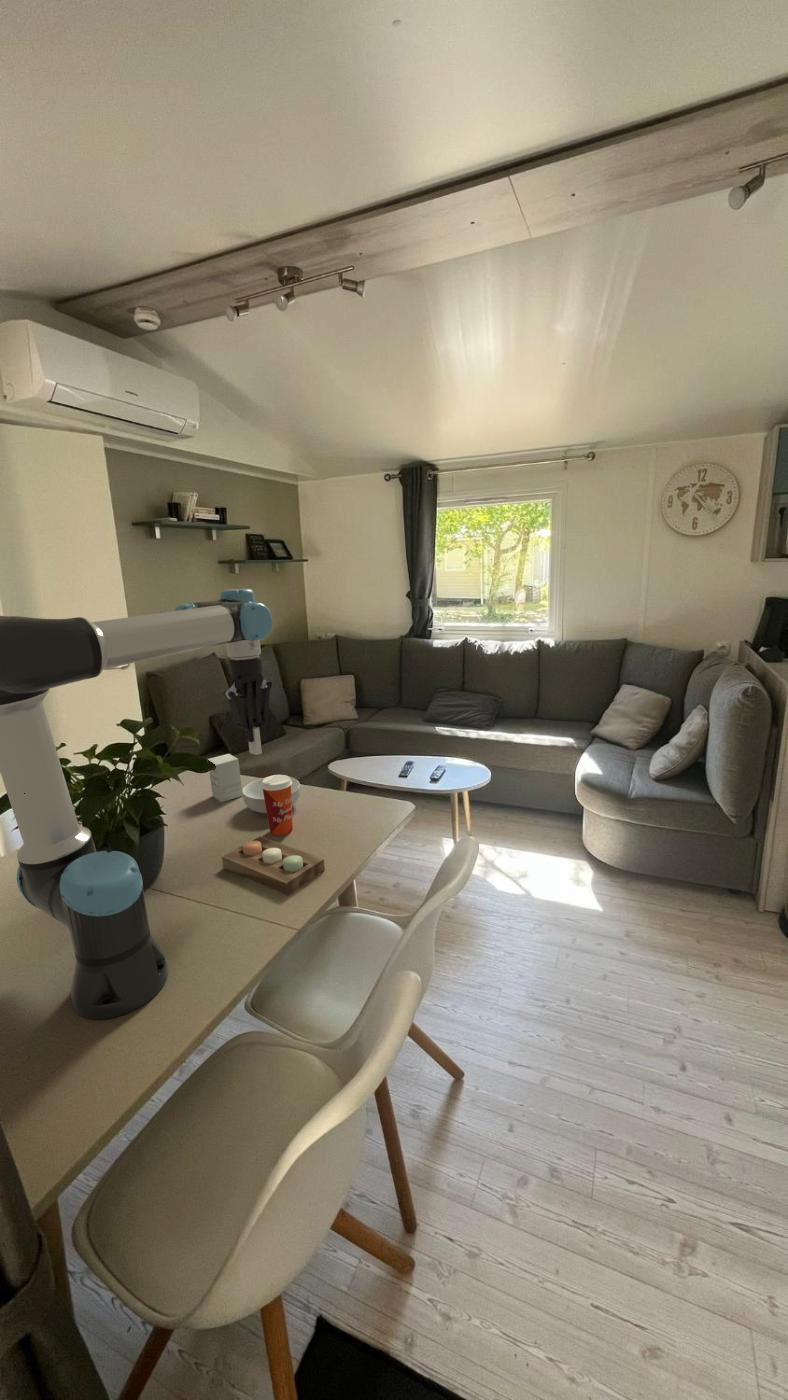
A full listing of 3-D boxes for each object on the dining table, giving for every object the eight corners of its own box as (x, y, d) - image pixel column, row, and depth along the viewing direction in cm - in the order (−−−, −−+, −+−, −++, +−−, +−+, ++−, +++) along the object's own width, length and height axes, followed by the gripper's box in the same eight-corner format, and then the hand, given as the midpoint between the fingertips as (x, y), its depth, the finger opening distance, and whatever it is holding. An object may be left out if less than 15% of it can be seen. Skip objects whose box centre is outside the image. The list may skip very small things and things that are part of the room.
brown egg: (252, 864, 135) (250, 851, 134) (240, 859, 137) (238, 846, 136) (266, 856, 138) (264, 843, 137) (254, 852, 141) (252, 839, 140)
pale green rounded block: (294, 881, 127) (292, 867, 126) (280, 876, 129) (278, 862, 128) (307, 872, 130) (306, 858, 129) (294, 867, 133) (292, 853, 132)
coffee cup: (280, 841, 147) (274, 787, 144) (259, 833, 152) (253, 781, 149) (303, 828, 154) (298, 777, 150) (283, 821, 159) (277, 771, 155)
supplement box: (234, 789, 183) (229, 752, 180) (243, 796, 178) (238, 758, 175) (211, 796, 179) (206, 758, 176) (220, 803, 173) (215, 764, 170)
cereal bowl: (232, 812, 166) (229, 790, 165) (275, 793, 179) (273, 772, 177) (271, 826, 156) (268, 802, 154) (313, 804, 169) (311, 782, 167)
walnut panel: (287, 895, 123) (286, 883, 122) (223, 868, 136) (221, 856, 135) (324, 870, 132) (323, 858, 132) (261, 846, 145) (260, 836, 144)
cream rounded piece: (272, 872, 131) (271, 859, 130) (259, 867, 133) (258, 854, 132) (286, 864, 134) (285, 850, 133) (273, 859, 137) (272, 846, 136)
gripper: (232, 662, 123) (244, 764, 129) (277, 653, 133) (286, 747, 139) (211, 660, 127) (223, 758, 133) (255, 651, 137) (265, 743, 143)
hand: (255, 753), depth 136 cm, fingers closed
